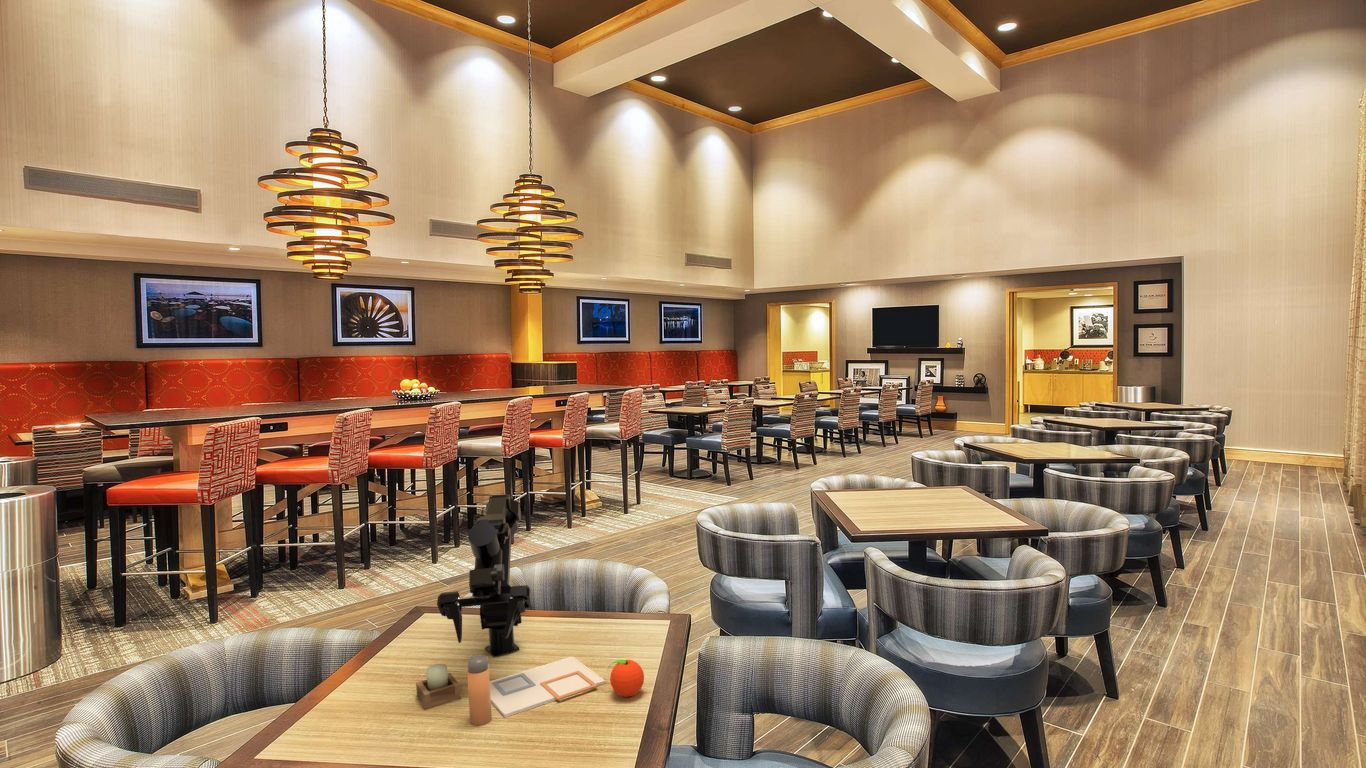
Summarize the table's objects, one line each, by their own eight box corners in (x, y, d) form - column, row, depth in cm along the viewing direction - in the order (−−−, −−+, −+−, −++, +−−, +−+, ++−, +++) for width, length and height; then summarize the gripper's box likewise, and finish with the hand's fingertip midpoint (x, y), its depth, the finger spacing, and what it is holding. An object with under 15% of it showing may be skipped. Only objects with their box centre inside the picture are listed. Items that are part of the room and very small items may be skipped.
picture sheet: (478, 687, 145) (478, 683, 145) (572, 658, 158) (572, 654, 158) (507, 720, 131) (507, 716, 131) (608, 685, 144) (608, 681, 143)
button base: (416, 696, 143) (416, 682, 143) (450, 686, 147) (450, 672, 147) (425, 709, 137) (424, 694, 137) (460, 698, 141) (459, 684, 141)
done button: (425, 686, 142) (424, 667, 142) (445, 680, 144) (444, 661, 144) (430, 693, 139) (429, 674, 139) (450, 687, 141) (449, 668, 141)
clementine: (600, 699, 138) (598, 664, 138) (616, 684, 144) (614, 651, 144) (636, 705, 135) (634, 669, 135) (650, 689, 141) (648, 655, 141)
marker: (467, 719, 132) (464, 658, 132) (487, 712, 134) (484, 652, 134) (473, 728, 129) (470, 665, 129) (494, 721, 131) (491, 659, 131)
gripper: (436, 554, 142) (427, 626, 131) (527, 547, 145) (525, 617, 134) (446, 581, 150) (438, 650, 139) (532, 573, 153) (531, 641, 142)
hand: (482, 639), depth 138 cm, fingers open, 9 cm apart
